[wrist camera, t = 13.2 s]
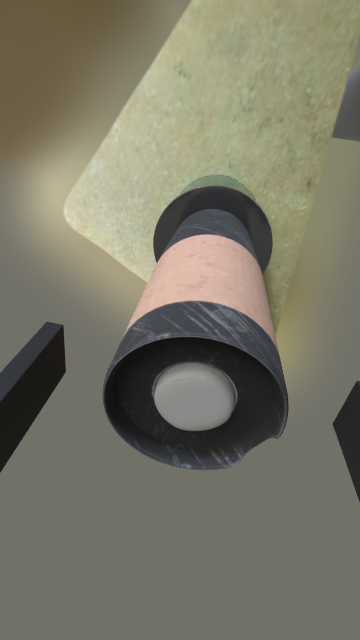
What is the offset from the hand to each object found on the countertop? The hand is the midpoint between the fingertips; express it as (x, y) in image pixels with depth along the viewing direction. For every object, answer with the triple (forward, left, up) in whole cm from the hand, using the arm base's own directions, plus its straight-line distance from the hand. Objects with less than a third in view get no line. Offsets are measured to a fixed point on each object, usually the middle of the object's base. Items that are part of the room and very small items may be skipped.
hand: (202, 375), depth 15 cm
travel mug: (0, 0, -18) cm, 18 cm away
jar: (0, 0, -27) cm, 27 cm away
